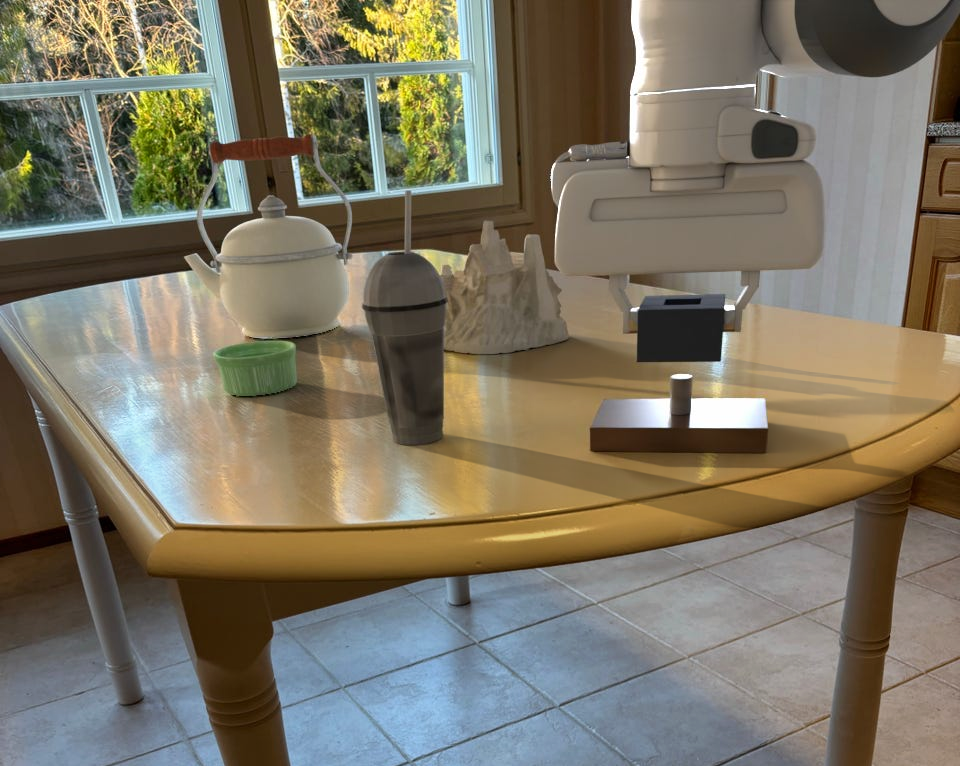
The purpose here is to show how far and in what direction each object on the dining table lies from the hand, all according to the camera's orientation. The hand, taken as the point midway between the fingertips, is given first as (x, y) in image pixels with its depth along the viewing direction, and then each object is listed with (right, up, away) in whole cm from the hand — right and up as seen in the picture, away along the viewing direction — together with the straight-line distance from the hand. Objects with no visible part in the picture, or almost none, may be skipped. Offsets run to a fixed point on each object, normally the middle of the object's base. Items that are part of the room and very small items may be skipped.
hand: (681, 331), depth 75 cm
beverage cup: (-22, -7, +9) cm, 25 cm away
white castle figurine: (-14, +13, +45) cm, 49 cm away
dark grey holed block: (0, -1, +1) cm, 2 cm away
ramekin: (-41, +3, +30) cm, 51 cm away
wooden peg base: (+1, -8, +4) cm, 9 cm away
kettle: (-45, +20, +61) cm, 79 cm away
